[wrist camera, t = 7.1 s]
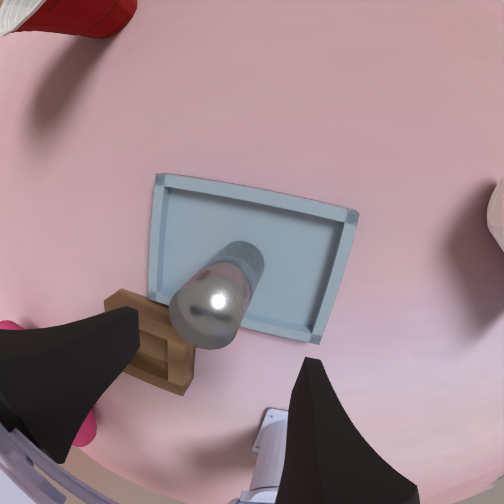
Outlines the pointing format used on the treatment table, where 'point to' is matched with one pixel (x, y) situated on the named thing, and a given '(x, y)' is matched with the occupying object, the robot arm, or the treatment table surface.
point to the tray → (261, 236)
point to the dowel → (217, 296)
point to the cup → (497, 213)
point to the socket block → (157, 345)
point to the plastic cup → (66, 16)
